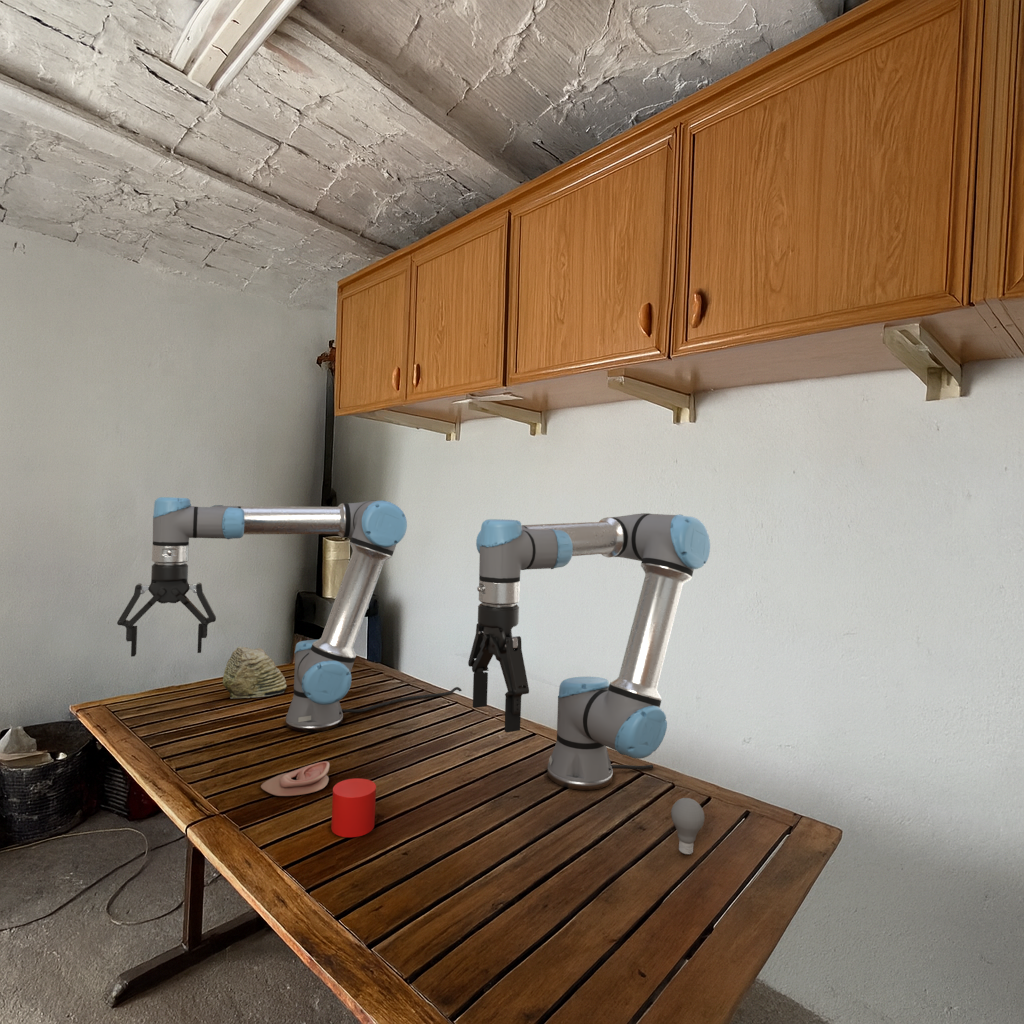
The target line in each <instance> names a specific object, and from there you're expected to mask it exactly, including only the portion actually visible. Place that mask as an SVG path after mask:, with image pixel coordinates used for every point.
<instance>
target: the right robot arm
mask: <svg viewBox="0 0 1024 1024" xmlns="http://www.w3.org/2000/svg"><path fill="white" fill-rule="evenodd" d="M475 544H476V545H475V546H476V550H477V552H478V554H479V563H478V564H479V565H478V567H479V568H478V570H479V571H478V575H479V576H478V586H477V587H476V590H477V592H478V602H480V603H479V604H478V606H477V623H476V627H475V636H474V639H473V643H472V647H471V651H470V654H469V658H468V662H467V664H468V667H470V668H471V671H472V673H473V682H472V708H473V709H477V708H478V709H479V708H484V707H485V708H486V707H487V706H488V685H489V684H488V682H489V673H488V671H490V670H489V667H488V666H489V664H490V662H491V660H492V658H493V657H495V660H496V661H498V662H499V665H500V669H501V672H502V675H503V679H504V682H505V687H506V689H507V692H505V694H504V696H505V699H504V700H505V703H504V704H505V705H504V732H505V733H506V734H507V733H513V732H518V731H519V732H520V731H521V717H522V715H521V714H522V696H523V695H529V693H530V687H529V683H528V677H527V671H526V665H525V660H524V655H523V650H522V636H520V635H518V636H517V635H516V636H513V634H512V633H513V632H512V629H513V628H514V627H517V626H518V625H519V622H520V621H519V619H520V606H519V605H518V603H519V602H520V596H521V595H520V594H521V593H520V592H521V591H520V589H521V571H525V570H547V569H550V570H554V569H558V568H563V567H565V566H567V565H568V564H569V563H570V561H571V560H572V558H573V557H579V556H591V555H592V556H593V555H602V556H603V557H605V558H622V559H627V560H633V561H639V562H641V563H640V567H641V569H642V571H643V573H644V578H643V582H642V586H641V590H640V594H639V597H638V602H637V605H636V609H635V613H634V616H633V621H632V624H631V627H630V631H629V635H628V639H627V643H626V646H625V647H626V648H625V652H624V654H623V658H622V662H621V666H620V671H619V674H618V677H617V678H615V679H613V680H612V681H610V682H609V680H608V679H607V678H605V677H600V676H575V677H569V678H566V679H564V680H562V681H561V682H560V684H559V689H558V695H557V721H556V722H557V723H556V741H555V746H554V747H553V750H552V753H551V754H550V755H549V758H548V763H547V777H548V778H549V779H550V780H551V781H552V782H553V783H555V784H556V785H559V786H562V787H564V788H567V789H571V790H578V791H595V790H601V789H603V788H606V787H608V786H609V785H611V784H612V782H613V778H614V777H613V776H614V775H613V773H614V770H615V769H617V770H619V769H620V770H622V769H623V770H637V771H638V770H651V769H654V765H653V764H645V765H632V764H631V765H628V764H612V763H611V759H610V755H609V752H608V748H609V749H612V750H614V751H616V752H617V753H618V754H620V755H623V756H627V757H629V758H632V759H637V760H640V759H645V758H647V757H649V756H651V755H652V754H653V753H654V752H656V751H657V750H658V749H659V748H660V746H661V744H662V742H663V741H664V739H665V736H666V733H667V729H668V721H667V715H666V713H665V712H664V711H663V710H662V708H661V704H662V696H661V694H660V693H659V691H658V687H659V682H660V677H661V673H662V670H663V666H664V662H665V658H666V655H667V650H668V646H669V641H670V638H671V633H672V630H673V625H674V623H675V618H676V614H677V610H678V606H679V601H680V598H681V594H682V590H683V586H684V584H686V583H687V582H689V581H692V580H693V579H692V578H693V574H694V571H695V570H698V569H701V568H702V567H704V565H705V564H706V563H707V562H708V560H709V557H710V552H711V540H710V536H709V533H708V530H707V527H706V526H705V524H704V523H703V522H702V521H701V520H700V519H699V518H697V517H695V516H689V515H683V514H665V513H664V514H662V513H649V512H648V513H647V512H646V513H642V512H641V513H634V514H633V513H632V514H627V515H620V516H611V517H610V516H608V517H603V518H601V519H600V520H599V521H592V522H567V523H566V522H565V523H563V522H562V523H544V524H543V523H542V524H540V523H539V524H522V522H521V521H520V520H517V519H503V518H502V519H500V518H499V519H497V518H494V519H493V518H490V519H485V520H483V522H482V523H481V526H480V531H479V532H478V534H477V536H476V543H475Z"/></svg>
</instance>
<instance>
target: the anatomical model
mask: <svg viewBox="0 0 1024 1024" xmlns="http://www.w3.org/2000/svg"><path fill="white" fill-rule="evenodd" d="M330 766H331V765H330V762H329V761H327V760H325V761H320V762H316V763H312V764H309V765H306V766H302V767H300V768H298V769H295V770H292V771H289V772H285V773H281V774H278V775H276V776H273V777H271V778H269V779H267V780H266V781H264V782H262V783H261V785H260V788H261V789H262V790H263V791H264V792H266V793H268V794H270V795H273V796H276V797H293V796H300V795H301V796H302V795H307V794H311V793H315V792H318V791H321V790H323V789H324V788H325V787H326V786H328V783H329V781H330V778H329V776H328V773H329V770H330Z"/></svg>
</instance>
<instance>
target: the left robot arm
mask: <svg viewBox="0 0 1024 1024" xmlns="http://www.w3.org/2000/svg"><path fill="white" fill-rule="evenodd" d="M407 530H408V521H407V517H406V515H405V513H404V511H403V509H401V508H400V507H399V506H398V505H397V504H396V503H393V502H391V501H387V500H372V499H371V500H365V501H360V502H349V503H348V502H347V503H346V502H344V503H343V502H342V503H340V504H339V505H338V506H294V505H293V506H287V505H286V506H285V505H284V506H283V505H281V506H279V505H278V506H277V505H276V506H275V505H266V506H265V505H223V504H218V505H217V504H215V505H212V506H194V505H192V504H191V500H190V498H188V497H173V496H171V497H169V496H163V497H161V496H160V497H157V498H156V500H154V503H153V516H152V545H151V546H152V548H151V549H152V550H151V561H152V562H153V564H152V565H151V572H150V573H151V575H150V578H151V579H150V584H142V583H137V584H136V585H135V587H134V592H133V596H131V599H130V600H129V602H128V604H127V605H126V607H125V608H124V610H123V612H122V613H121V615H120V617H119V618H118V620H117V622H116V624H117V625H118V626H122V627H124V628H125V631H126V633H125V640H126V642H130V643H131V644H130V645H131V646H130V657H136V655H137V648H138V647H137V646H138V645H137V643H138V625H135V624H136V623H137V622H138V621H139V620H140V619H141V618H142V617H143V616H144V615H145V614H146V613H147V612H148V611H149V610H150V609H151V608H152V607H153V606H155V604H156V603H157V602H158V603H160V604H167V603H169V604H177V603H179V602H180V603H181V604H182V605H183V606H185V608H186V609H188V611H189V612H190V613H191V614H192V615H193V616H194V617H195V618H196V619H197V620H198V621H199V622H200V623H198V625H197V626H198V629H197V654H202V645H203V644H202V643H203V639H207V637H208V625H209V624H211V623H215V622H216V620H217V616H216V614H215V612H214V610H213V608H212V606H211V604H210V603H209V601H208V599H207V597H206V595H205V593H204V592H203V591H204V590H203V584H202V582H197V583H192V584H189V580H188V579H189V565H188V564H187V562H188V561H189V553H190V539H226V540H231V539H232V540H233V539H241V538H243V537H244V536H245V535H338V536H339V537H340V538H349V539H350V541H349V544H350V547H351V549H352V552H351V556H350V558H349V561H348V563H347V566H346V570H345V572H344V575H343V577H342V579H341V583H340V585H339V588H338V591H337V594H336V595H335V599H334V602H333V604H332V607H331V610H330V613H329V615H328V618H327V620H326V624H325V626H324V629H323V632H322V635H321V637H320V638H319V639H307V640H301V641H298V642H297V643H296V644H295V648H294V649H295V650H294V672H293V673H294V674H293V675H294V676H293V695H292V696H293V697H292V699H291V702H290V704H289V708H288V711H287V713H286V715H285V726H286V728H287V729H289V730H291V731H294V732H295V731H296V732H301V733H316V732H325V731H329V730H332V729H335V728H337V727H339V726H340V725H342V723H343V722H344V714H343V713H351V714H359V713H365V712H368V711H371V710H374V709H377V708H380V707H385V706H387V705H392V704H395V703H400V702H405V701H411V700H419V699H426V698H434V697H435V698H436V697H442V696H444V697H445V696H449V695H452V694H453V693H455V692H456V691H457V692H462V691H463V690H462V689H461V688H460V687H459V686H456V687H453V688H452V689H450V690H449V691H446V692H445V691H444V692H439V693H429V694H428V693H427V694H420V695H413V696H406V697H401V698H396V699H391V700H388V701H385V702H381V703H378V704H377V703H376V704H374V705H371V706H368V707H364V708H358V709H353V708H352V709H350V708H342V706H341V702H340V701H341V700H342V699H344V697H346V696H347V694H348V693H349V691H350V689H351V687H352V670H353V666H354V664H355V660H356V658H357V654H356V652H355V649H354V646H355V643H356V640H357V638H358V636H359V633H360V629H361V627H362V624H363V622H364V619H365V616H366V613H367V612H368V611H367V610H368V608H369V605H370V602H371V599H372V597H373V593H374V591H375V588H376V586H377V583H378V580H379V577H380V574H381V572H382V569H383V566H384V563H385V562H386V561H387V560H389V559H391V558H393V555H394V552H395V549H396V547H397V545H398V544H399V543H400V542H401V541H402V540H403V538H404V537H405V535H406V533H407ZM190 590H191V591H192V592H193V593H194V594H196V596H197V598H198V600H199V602H200V603H201V606H202V607H203V610H204V611H205V612H206V616H207V617H206V616H205V615H204V614H203V612H201V610H199V609H198V607H197V606H195V604H194V603H193V602H192V600H190V599H189V598H188V597H187V595H186V594H187V593H188V592H189V591H190ZM146 591H149V593H150V594H151V596H152V597H151V598H150V599H149V600H148V601H147V602H146V603H145V604H144V605H143V606H142V607H141V608H140V609H139V610H138V611H137V612H136V613H135V614H134V615H133V616H132V617H131V618H130V619H128V617H129V615H130V614H131V612H132V610H133V609H134V607H135V605H136V603H137V602H138V600H139V598H140V596H141V595H144V594H145V593H146Z"/></svg>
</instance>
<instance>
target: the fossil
mask: <svg viewBox="0 0 1024 1024" xmlns="http://www.w3.org/2000/svg"><path fill="white" fill-rule="evenodd" d="M222 676H223V677H222V685H223V687H224V688H225V690H226V691H228V693H229V698H230V699H250V698H264V697H271V696H275V695H281V694H284V693H285V691H286V689H287V687H288V686H287V680H286V678H285V676H284V674H283V673H282V672H281V669H279V668H278V667H277V665H276V663H275V662H274V660H273V659H272V658H271V657H270V656H269V655H268V654H267V653H266V652H265V650H264V649H263V648H260V647H258V648H251V647H247V646H246V647H245V646H238V647H237V648H236V649H235V650H233V651H232V653H231V656H230V657H229V659H228V660H227V663H226V666H225V668H224V671H223V675H222Z"/></svg>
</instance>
